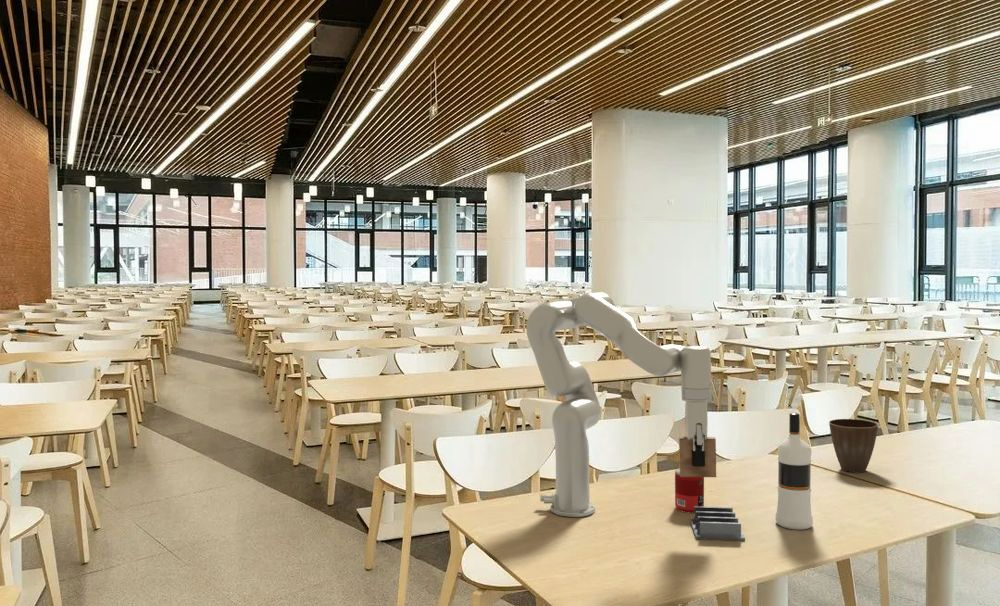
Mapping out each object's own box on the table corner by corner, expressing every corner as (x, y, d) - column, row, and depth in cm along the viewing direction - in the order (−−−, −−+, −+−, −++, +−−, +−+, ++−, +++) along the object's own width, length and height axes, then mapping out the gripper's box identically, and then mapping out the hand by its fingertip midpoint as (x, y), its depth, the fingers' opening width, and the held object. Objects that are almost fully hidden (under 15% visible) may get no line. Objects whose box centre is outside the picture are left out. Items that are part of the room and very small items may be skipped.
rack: (696, 539, 192) (696, 522, 192) (690, 521, 205) (690, 506, 205) (745, 541, 190) (745, 524, 190) (736, 523, 203) (736, 507, 203)
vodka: (767, 522, 204) (768, 411, 203) (793, 517, 208) (793, 408, 207) (795, 533, 196) (795, 417, 194) (820, 527, 200) (821, 414, 198)
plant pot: (847, 477, 247) (848, 428, 246) (819, 465, 261) (819, 419, 261) (887, 474, 250) (888, 426, 249) (857, 463, 264) (858, 417, 264)
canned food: (704, 514, 212) (704, 475, 211) (675, 512, 213) (675, 473, 213) (703, 505, 219) (703, 468, 219) (674, 504, 221) (674, 466, 220)
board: (680, 476, 196) (679, 438, 196) (679, 474, 198) (679, 436, 198) (716, 477, 195) (715, 438, 194) (715, 475, 197) (714, 436, 196)
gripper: (679, 389, 204) (680, 457, 205) (684, 399, 188) (685, 472, 189) (708, 389, 203) (709, 457, 204) (715, 399, 187) (716, 472, 188)
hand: (698, 464), depth 196 cm, fingers closed on board, 2 cm apart
